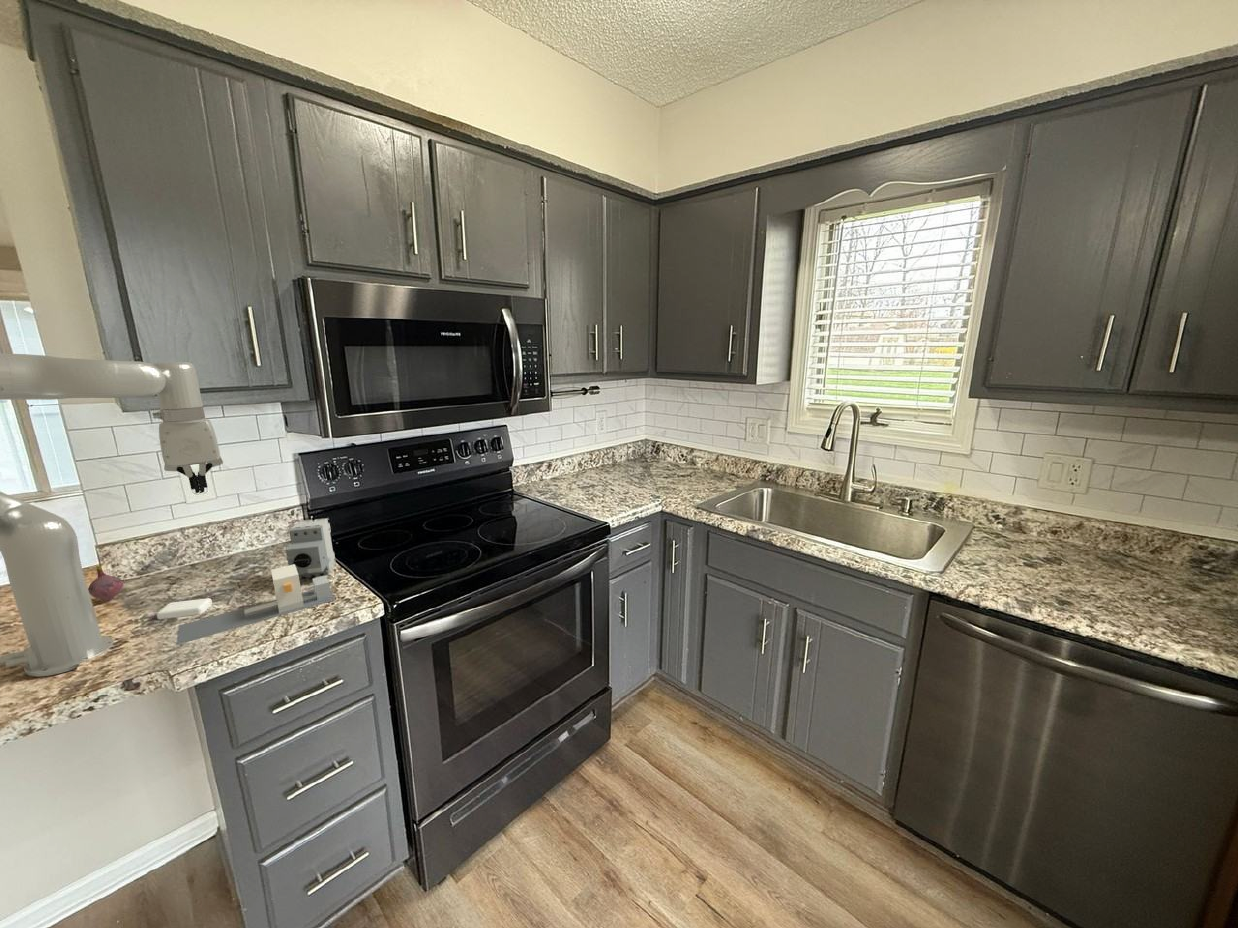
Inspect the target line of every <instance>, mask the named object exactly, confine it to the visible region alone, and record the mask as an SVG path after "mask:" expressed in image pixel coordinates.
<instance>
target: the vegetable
mask: <svg viewBox="0 0 1238 928" xmlns="http://www.w3.org/2000/svg"><path fill="white" fill-rule="evenodd" d="M95 568H96V569H95V570H96V573H97V578H95V579H94V580H92V581H91V583H90V584H89V585H88V590H89V594H90V596H91V597H93V598H95V599H98V600H101V601H107V602H109V600H110V601H111V600H113V599H114V598H115V597H116V596H117V595H118V594H120V593H121V592H122V591H123V588H124V583H123V582H124V581H123V580H122V579H121V578H119V577H118V576H113V575H109V574H107V573H105V572H104V571H103V569H102V567H101V565H99V564H98V565H97V566H96V567H95Z"/></svg>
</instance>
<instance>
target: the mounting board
mask: <svg viewBox="0 0 1238 928" xmlns="http://www.w3.org/2000/svg"><path fill="white" fill-rule="evenodd" d="M330 590H331V588H330ZM312 591H314V589H309V590H307V591H306V590H305V591H301V592H302V594H304V593H308V592H312ZM331 596H332V597H329V598H325V599H321V600H317V599H314V600H310V601H306V602H303V604H304V607H301V608H297V609H294V610H290V611H287V612H283V613H279V609H277V610H274V611H270V612H266V613H263V614H259V615H256V616H252V617H248V618H245V612H244V610H245V609H248V608H252V607H256V606H259V605H263V604H267V603H271V602H274V601H277V600H276V599H273V600H269V601H265V602H262V603H258V604H254V605H251V606H245V607H243V608H239V609H235V610H231V611H228V612H225V613H220V614H217V615H214V616H212V615H211V616H210V617H206V618H201V619H198V620H193V621H190V622H187V623H183V624H179V625H178V632H177V640H176V646H178V645H182V644H185V643H188V642H192V641H193V642H194V641H196V640H199V639H202V638H205V637H207V638H208V637H211V636H213V635H217V634H219V633H225V632H227V631H230V630H235V629H237V628H242V627H245V626H248V625H253V624H256V623H258V622H259V623H260V622H263V621H267V620H270V619H274V618H276V617H280V616H284V615H288V614H291V613H295V612H298V611H302V610H305V609H310V608H311V607H315V606H318V605H323V604H327V603H330V602H334V601H336V598H335V596H334V593H333V591H332V590H331Z"/></svg>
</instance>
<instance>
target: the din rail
mask: <svg viewBox="0 0 1238 928" xmlns="http://www.w3.org/2000/svg"><path fill="white" fill-rule="evenodd" d="M302 598H303V602H306V601H310V600H314V599H317V595H316V592H315V591H312V592H308V593H304V594H302ZM277 609H278V604H277V601H274V602H271V603H267V604H263V605H259V606H256V607H252V608H248V609H245V610H244V612H245V618H248V617H252V616H256V615H259V614H263V613H266V612H270V611H274V610H277Z"/></svg>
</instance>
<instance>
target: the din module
mask: <svg viewBox="0 0 1238 928" xmlns="http://www.w3.org/2000/svg"><path fill="white" fill-rule="evenodd" d="M270 573H271V577H272V582H273V588H274V593H275V600H277V604H278V609H279V613H283V612H287V611H290V610H294V609H297V608H301V607H304V604H303V598H302V592H303V591H302V589H301V588H302V587H301V583H300V578H299V575H298V572H297V569H296V566H295V564H293V565H284V566H281V567H276V568H271V569H270Z"/></svg>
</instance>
